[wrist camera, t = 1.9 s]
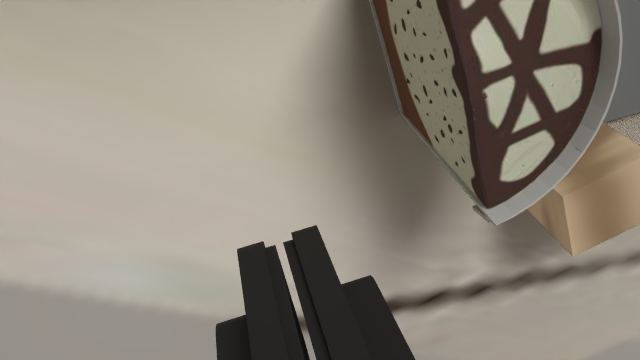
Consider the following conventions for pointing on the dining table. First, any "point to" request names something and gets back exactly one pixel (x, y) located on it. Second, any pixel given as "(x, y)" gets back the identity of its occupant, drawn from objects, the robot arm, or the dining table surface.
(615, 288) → the dining table surface
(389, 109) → the dining table surface
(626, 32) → the mat
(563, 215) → the oak block
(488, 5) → the food container
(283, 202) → the dining table surface
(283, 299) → the robot arm
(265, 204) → the dining table surface
